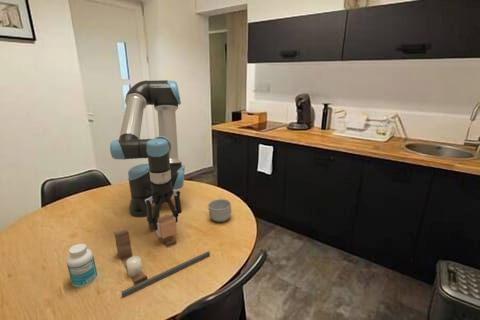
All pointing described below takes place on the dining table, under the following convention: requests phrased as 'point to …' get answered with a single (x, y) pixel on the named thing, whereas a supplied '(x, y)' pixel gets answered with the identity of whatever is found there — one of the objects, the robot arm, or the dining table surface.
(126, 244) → the brown l-shaped bracket
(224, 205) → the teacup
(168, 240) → the brown l-shaped block
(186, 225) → the dining table surface
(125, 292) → the bar
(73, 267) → the pill bottle
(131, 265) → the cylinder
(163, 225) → the cube
